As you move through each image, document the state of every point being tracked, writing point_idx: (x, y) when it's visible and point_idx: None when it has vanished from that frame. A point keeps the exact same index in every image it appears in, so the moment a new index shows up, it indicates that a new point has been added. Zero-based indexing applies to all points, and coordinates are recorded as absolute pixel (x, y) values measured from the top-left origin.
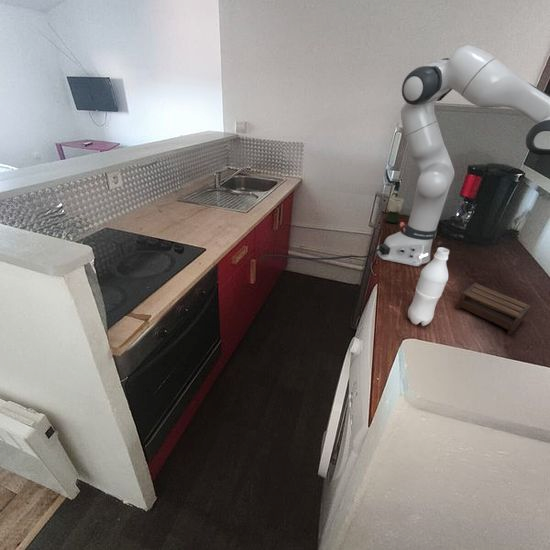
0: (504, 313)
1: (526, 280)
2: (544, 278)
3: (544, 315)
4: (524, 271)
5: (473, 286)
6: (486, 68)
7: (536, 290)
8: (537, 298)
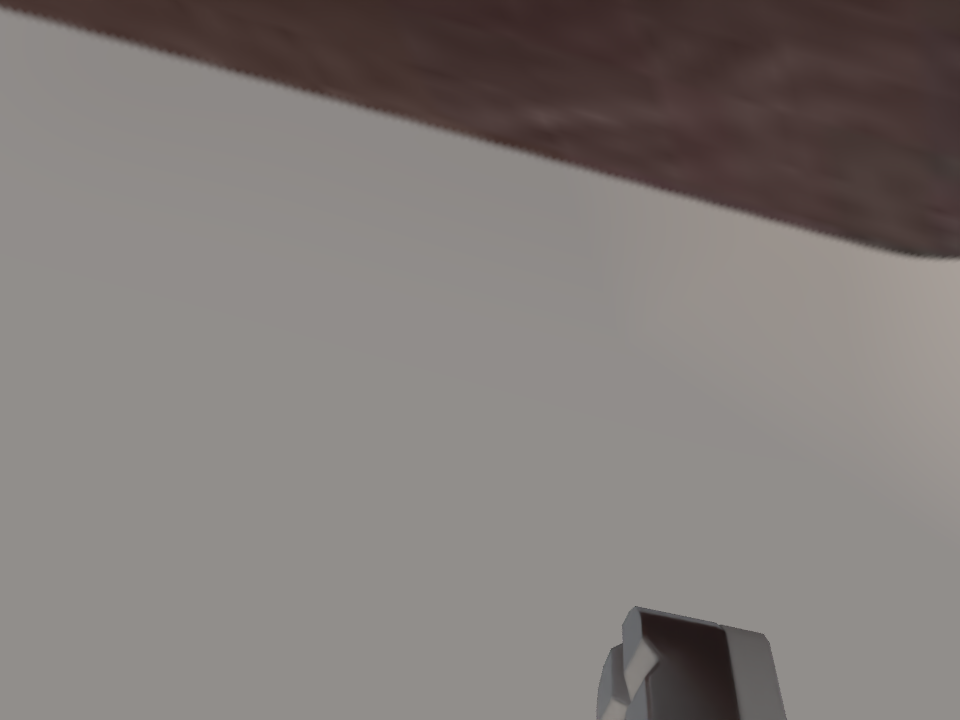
0: None
1: (779, 103)
2: (832, 232)
3: (273, 78)
4: (934, 131)
5: None
6: None
7: (631, 129)
8: (507, 101)
